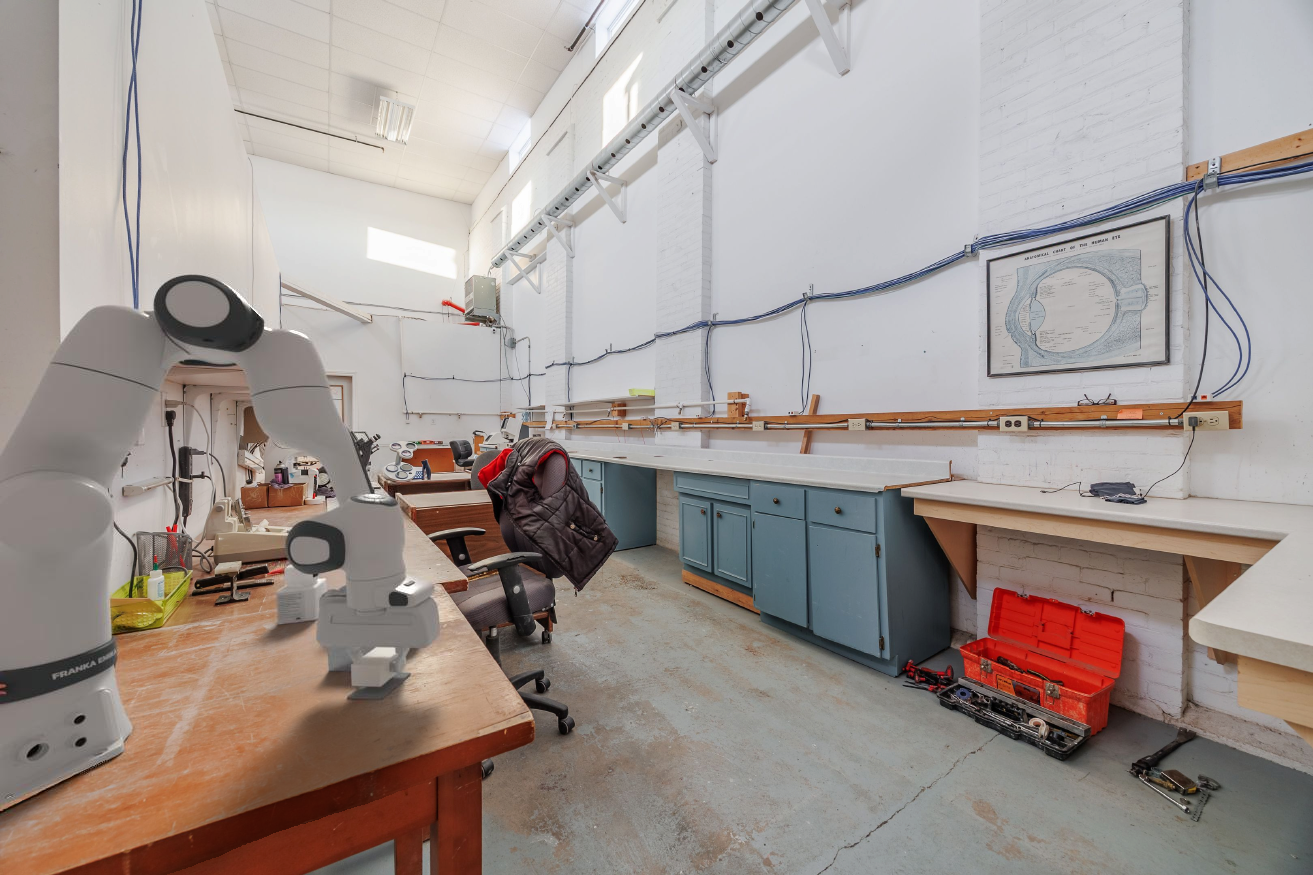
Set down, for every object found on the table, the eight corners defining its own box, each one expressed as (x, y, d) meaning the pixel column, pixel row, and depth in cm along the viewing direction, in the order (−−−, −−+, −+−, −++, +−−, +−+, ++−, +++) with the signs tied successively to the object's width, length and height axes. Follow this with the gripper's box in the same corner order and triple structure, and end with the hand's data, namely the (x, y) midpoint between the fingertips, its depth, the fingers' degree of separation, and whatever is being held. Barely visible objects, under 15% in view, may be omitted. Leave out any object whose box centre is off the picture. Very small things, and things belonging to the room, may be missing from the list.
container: (291, 612, 118) (289, 559, 117) (328, 608, 120) (326, 556, 120) (276, 625, 110) (274, 568, 110) (316, 620, 113) (314, 564, 112)
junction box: (380, 672, 88) (379, 639, 88) (328, 670, 88) (327, 638, 88) (421, 640, 101) (420, 611, 100) (375, 639, 101) (374, 611, 101)
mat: (381, 699, 79) (381, 697, 79) (347, 698, 79) (346, 696, 79) (410, 674, 87) (410, 672, 87) (378, 673, 87) (378, 671, 87)
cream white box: (380, 686, 79) (380, 665, 79) (351, 685, 80) (350, 664, 80) (406, 665, 86) (405, 645, 86) (379, 664, 87) (378, 645, 87)
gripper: (304, 595, 80) (307, 678, 81) (423, 596, 79) (425, 681, 79) (333, 583, 87) (335, 659, 87) (443, 584, 85) (445, 662, 85)
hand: (379, 670), depth 83 cm, fingers closed on cream white box, 5 cm apart
